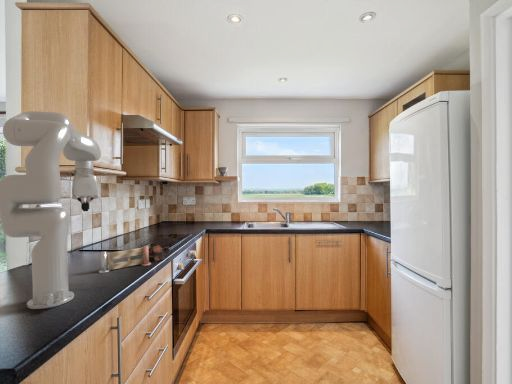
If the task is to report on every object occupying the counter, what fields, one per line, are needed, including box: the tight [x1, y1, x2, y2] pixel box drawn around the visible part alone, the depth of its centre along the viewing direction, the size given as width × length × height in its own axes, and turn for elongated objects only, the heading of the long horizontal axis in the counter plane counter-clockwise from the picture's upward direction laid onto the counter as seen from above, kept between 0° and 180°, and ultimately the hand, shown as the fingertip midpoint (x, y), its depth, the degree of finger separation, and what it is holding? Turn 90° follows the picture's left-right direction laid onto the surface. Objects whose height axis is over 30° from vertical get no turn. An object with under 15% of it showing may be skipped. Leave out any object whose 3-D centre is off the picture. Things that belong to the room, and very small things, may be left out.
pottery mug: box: [148, 245, 171, 262], centre depth 145 cm, size 12×10×8 cm
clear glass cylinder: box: [98, 251, 111, 274], centre depth 123 cm, size 4×4×9 cm
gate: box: [107, 247, 144, 271], centre depth 131 cm, size 18×2×8 cm, turn 133°
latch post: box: [140, 245, 152, 267], centre depth 134 cm, size 4×4×9 cm
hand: (85, 211), depth 131 cm, fingers closed
